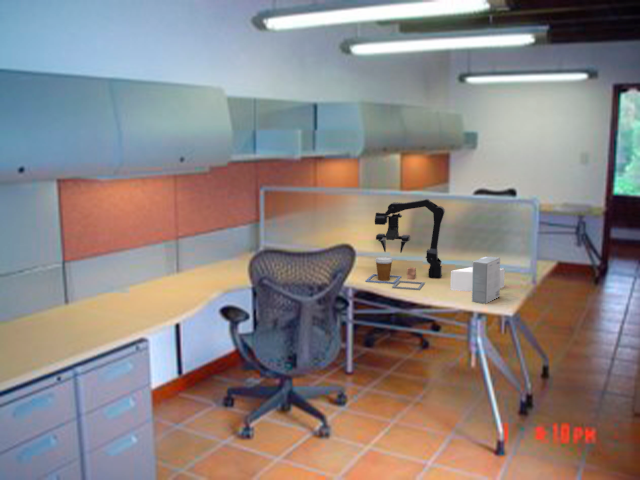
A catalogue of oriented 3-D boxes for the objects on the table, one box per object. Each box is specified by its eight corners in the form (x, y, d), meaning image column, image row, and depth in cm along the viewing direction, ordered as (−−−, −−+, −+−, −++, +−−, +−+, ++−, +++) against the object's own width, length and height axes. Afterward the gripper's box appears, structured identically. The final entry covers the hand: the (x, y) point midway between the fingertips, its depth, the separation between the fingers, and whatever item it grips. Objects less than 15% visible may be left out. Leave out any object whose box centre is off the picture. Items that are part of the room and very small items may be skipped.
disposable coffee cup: (373, 281, 347) (373, 259, 345) (377, 277, 356) (377, 256, 354) (390, 282, 345) (390, 260, 342) (393, 278, 354) (394, 257, 351)
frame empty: (424, 283, 340) (424, 282, 340) (419, 290, 327) (419, 288, 327) (398, 281, 345) (398, 280, 345) (392, 288, 332) (392, 286, 331)
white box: (509, 291, 324) (510, 271, 322) (455, 293, 320) (455, 274, 318) (498, 284, 338) (499, 265, 336) (445, 286, 334) (446, 267, 332)
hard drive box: (485, 295, 316) (486, 255, 313) (499, 297, 312) (501, 257, 308) (471, 301, 305) (472, 261, 301) (485, 304, 300) (487, 263, 296)
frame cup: (401, 277, 355) (401, 275, 355) (394, 284, 340) (394, 282, 340) (373, 275, 361) (373, 273, 361) (365, 281, 346) (365, 280, 345)
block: (415, 278, 353) (415, 267, 352) (414, 279, 350) (414, 269, 349) (408, 277, 355) (408, 267, 354) (407, 279, 351) (407, 268, 350)
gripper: (373, 226, 352) (373, 254, 355) (406, 228, 346) (406, 256, 349) (378, 223, 363) (378, 250, 366) (410, 225, 357) (410, 252, 359)
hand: (392, 252), depth 360 cm, fingers open, 9 cm apart
